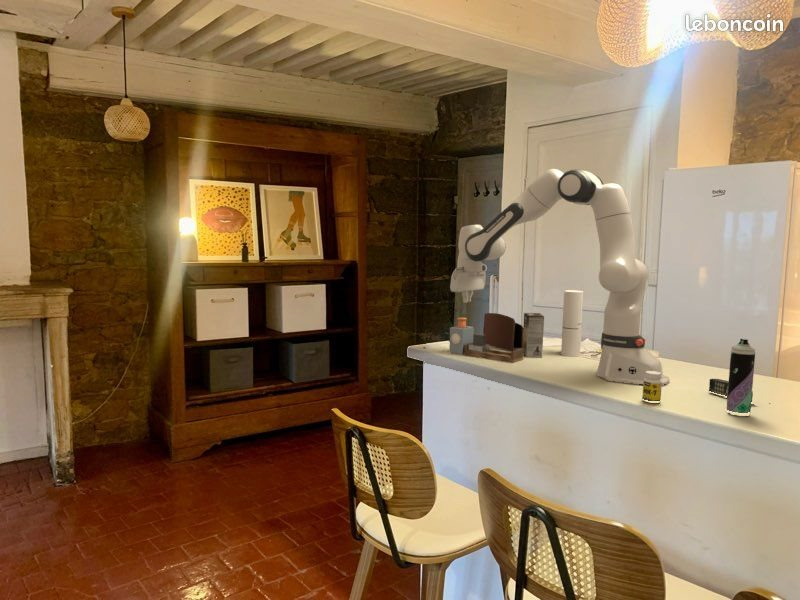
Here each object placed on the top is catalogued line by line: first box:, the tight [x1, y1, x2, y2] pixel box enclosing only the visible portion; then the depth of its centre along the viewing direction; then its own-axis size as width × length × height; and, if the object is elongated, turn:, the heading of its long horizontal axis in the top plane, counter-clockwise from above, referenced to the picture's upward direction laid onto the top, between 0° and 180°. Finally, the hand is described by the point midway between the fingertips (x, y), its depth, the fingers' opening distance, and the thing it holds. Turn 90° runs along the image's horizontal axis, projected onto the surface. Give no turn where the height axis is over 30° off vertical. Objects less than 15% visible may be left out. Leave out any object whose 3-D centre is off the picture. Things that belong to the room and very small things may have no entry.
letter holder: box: [482, 312, 524, 352], centre depth 246 cm, size 10×20×14 cm, turn 29°
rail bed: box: [463, 343, 524, 364], centre depth 223 cm, size 21×8×4 cm, turn 52°
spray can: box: [726, 338, 756, 413], centre depth 154 cm, size 6×6×20 cm
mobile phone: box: [708, 378, 754, 402], centre depth 169 cm, size 5×3×15 cm
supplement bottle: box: [641, 371, 663, 402], centre depth 165 cm, size 5×5×8 cm
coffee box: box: [522, 312, 545, 359], centre depth 228 cm, size 9×6×16 cm
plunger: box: [457, 317, 468, 328], centre depth 231 cm, size 4×4×7 cm
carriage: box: [468, 333, 491, 353], centre depth 227 cm, size 6×6×7 cm
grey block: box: [448, 325, 475, 356], centre depth 231 cm, size 6×8×10 cm
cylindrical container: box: [560, 289, 584, 358], centre depth 229 cm, size 7×7×25 cm
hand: (466, 302), depth 229 cm, fingers closed
